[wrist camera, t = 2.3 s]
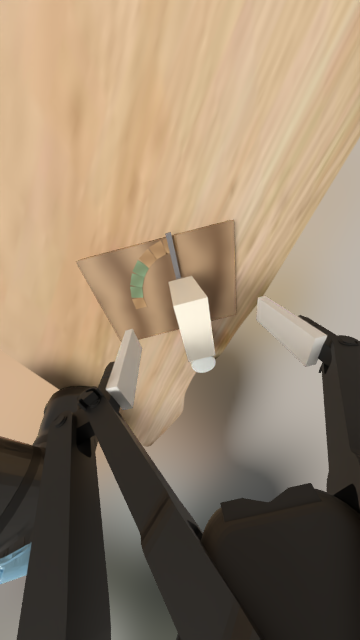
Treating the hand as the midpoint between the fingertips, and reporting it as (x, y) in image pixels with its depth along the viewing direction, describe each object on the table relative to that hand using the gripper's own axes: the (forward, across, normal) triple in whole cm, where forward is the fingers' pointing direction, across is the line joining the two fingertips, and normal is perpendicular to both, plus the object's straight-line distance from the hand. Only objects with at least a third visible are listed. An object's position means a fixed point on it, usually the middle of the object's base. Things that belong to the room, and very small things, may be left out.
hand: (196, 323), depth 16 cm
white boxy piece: (+10, 0, +2) cm, 10 cm away
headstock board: (+12, -2, 0) cm, 12 cm away
